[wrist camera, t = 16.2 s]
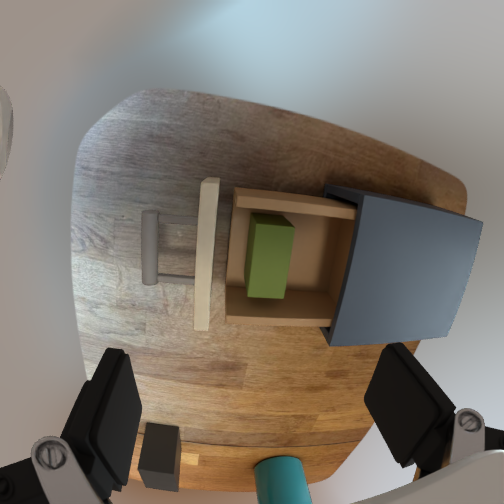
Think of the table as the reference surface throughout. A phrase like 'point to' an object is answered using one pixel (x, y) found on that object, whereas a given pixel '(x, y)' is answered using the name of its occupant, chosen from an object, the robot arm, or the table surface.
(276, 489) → the cup
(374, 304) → the cabinet
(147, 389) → the table surface
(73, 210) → the table surface
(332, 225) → the drawer
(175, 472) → the dark gray block
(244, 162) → the table surface
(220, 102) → the table surface
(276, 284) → the olive green block
